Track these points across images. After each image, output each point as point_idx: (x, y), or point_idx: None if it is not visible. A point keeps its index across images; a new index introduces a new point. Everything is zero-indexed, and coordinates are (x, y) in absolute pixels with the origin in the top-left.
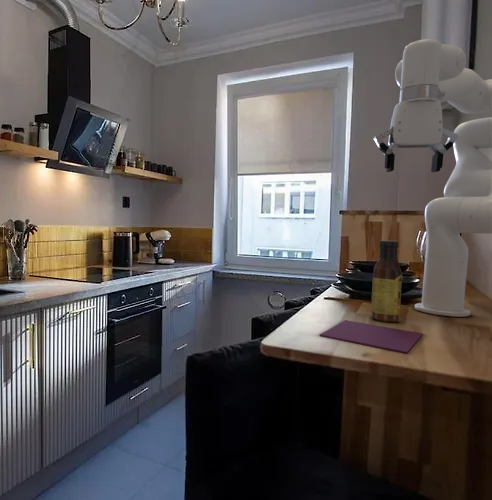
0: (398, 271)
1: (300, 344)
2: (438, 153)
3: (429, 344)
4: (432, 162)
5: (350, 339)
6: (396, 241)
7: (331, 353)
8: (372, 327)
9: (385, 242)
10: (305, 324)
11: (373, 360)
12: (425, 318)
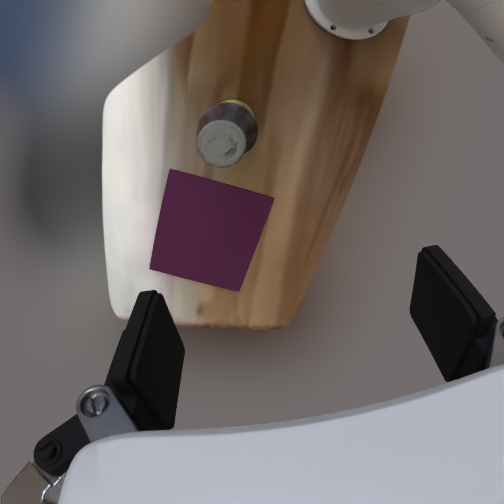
0: (248, 148)
1: None
2: (465, 373)
3: (271, 243)
4: (446, 293)
5: (182, 273)
6: (239, 159)
7: None
8: (208, 198)
9: (210, 164)
10: (123, 220)
11: (206, 321)
12: (306, 69)
